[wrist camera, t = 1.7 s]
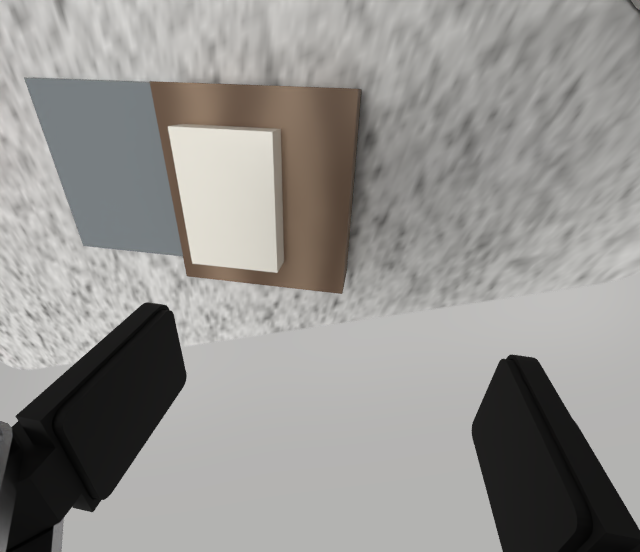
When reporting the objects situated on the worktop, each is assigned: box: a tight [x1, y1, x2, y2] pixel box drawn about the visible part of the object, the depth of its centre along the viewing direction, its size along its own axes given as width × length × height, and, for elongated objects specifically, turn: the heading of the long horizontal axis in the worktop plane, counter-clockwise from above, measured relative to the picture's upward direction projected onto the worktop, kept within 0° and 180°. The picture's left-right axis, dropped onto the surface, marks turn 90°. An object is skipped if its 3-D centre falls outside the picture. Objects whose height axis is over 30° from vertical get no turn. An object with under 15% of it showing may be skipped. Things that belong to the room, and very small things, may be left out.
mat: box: [24, 78, 183, 256], centre depth 30 cm, size 13×15×1 cm
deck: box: [149, 81, 361, 294], centre depth 26 cm, size 14×15×4 cm
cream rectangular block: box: [168, 124, 284, 273], centre depth 24 cm, size 7×10×2 cm
